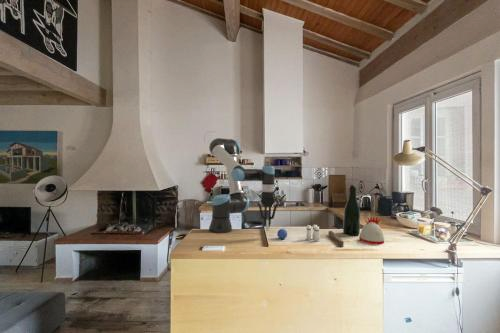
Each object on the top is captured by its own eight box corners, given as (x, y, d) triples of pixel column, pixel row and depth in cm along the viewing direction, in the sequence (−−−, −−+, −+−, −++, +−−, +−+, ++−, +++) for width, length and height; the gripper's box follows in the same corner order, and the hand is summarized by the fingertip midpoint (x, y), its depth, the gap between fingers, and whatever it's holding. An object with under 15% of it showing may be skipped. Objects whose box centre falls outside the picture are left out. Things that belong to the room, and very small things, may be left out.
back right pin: (313, 241, 165) (314, 226, 165) (315, 240, 166) (316, 226, 166) (317, 242, 163) (317, 227, 163) (319, 241, 165) (319, 227, 165)
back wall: (339, 246, 155) (339, 241, 155) (328, 235, 179) (328, 230, 179) (343, 246, 155) (343, 241, 155) (331, 235, 179) (331, 231, 179)
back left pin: (311, 238, 170) (312, 225, 170) (314, 238, 171) (314, 224, 171) (315, 239, 168) (315, 225, 168) (317, 239, 170) (318, 225, 170)
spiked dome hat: (386, 245, 161) (387, 219, 161) (361, 243, 164) (362, 218, 164) (380, 239, 175) (381, 215, 175) (357, 237, 177) (358, 214, 177)
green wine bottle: (360, 236, 179) (362, 185, 178) (343, 235, 181) (345, 185, 181) (358, 232, 189) (360, 184, 188) (342, 231, 191) (343, 184, 191)
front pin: (305, 239, 167) (306, 225, 167) (307, 238, 169) (308, 225, 169) (309, 240, 165) (309, 226, 165) (311, 239, 167) (311, 225, 167)
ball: (275, 238, 168) (275, 228, 168) (281, 236, 172) (281, 227, 172) (282, 240, 163) (283, 230, 163) (289, 239, 168) (289, 229, 167)
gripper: (257, 191, 164) (256, 231, 164) (279, 192, 164) (278, 231, 163) (257, 190, 171) (256, 228, 171) (278, 191, 171) (277, 229, 171)
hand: (267, 230), depth 167 cm, fingers closed
